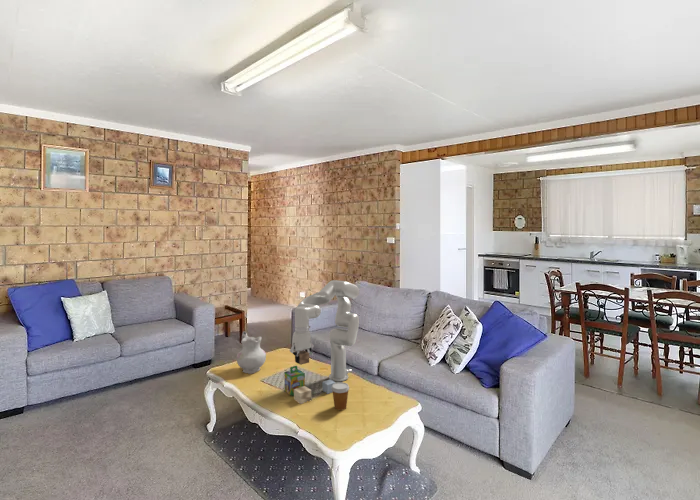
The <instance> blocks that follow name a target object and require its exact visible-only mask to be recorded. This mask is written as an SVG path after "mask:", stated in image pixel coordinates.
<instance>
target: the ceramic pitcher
mask: <svg viewBox="0 0 700 500" xmlns="http://www.w3.org/2000/svg"><path fill="white" fill-rule="evenodd" d="M262 338H263V337H262V336H257V337H255V336H248V333H247V331H242V333H241V341H240V343H241V346H242V349H241V350H240V351H239V352H237V354H236V364H238V367H240V368H241V369H242V370H243V371H242V372H243V373H245V374H247V373H248V374H247V375H252V374H255V373H257V372H259V371H260V370H261V367H263V365H264V364H265V362H266V358H267V353H266V351H265V350H264V349H263V348H261V343H262Z"/></svg>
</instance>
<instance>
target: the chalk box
mask: <svg viewBox="0 0 700 500" xmlns="http://www.w3.org/2000/svg"><path fill="white" fill-rule="evenodd" d="M289 368H290V369H289V370H287V371H284V392H285V393H287V394H288V395H290V397H294V389H296V388H299V387H303V386H306V378H305V377H306V375H305V372H303V371H302V370H300V369H298V368H299V367H298V366H297V365H293V366H290V367H289Z"/></svg>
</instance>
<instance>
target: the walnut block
mask: <svg viewBox="0 0 700 500" xmlns="http://www.w3.org/2000/svg"><path fill="white" fill-rule="evenodd" d="M298 356H299V363H297V364H298V365H306V364H309V363H310V354H309V353H308V352H306V351H305V350H301V351H300V352H299V355H298Z"/></svg>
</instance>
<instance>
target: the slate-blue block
mask: <svg viewBox="0 0 700 500" xmlns="http://www.w3.org/2000/svg"><path fill="white" fill-rule="evenodd" d="M334 383H336V381H332V380H330V379H328V380H323V381H322V383H321V384H322V385H321V387H322V390H323V391H322V392H324V393H325V392H326V393H325V394H327V395H328V394H333V391H332V389H331V388H332V385H333V384H334Z"/></svg>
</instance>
